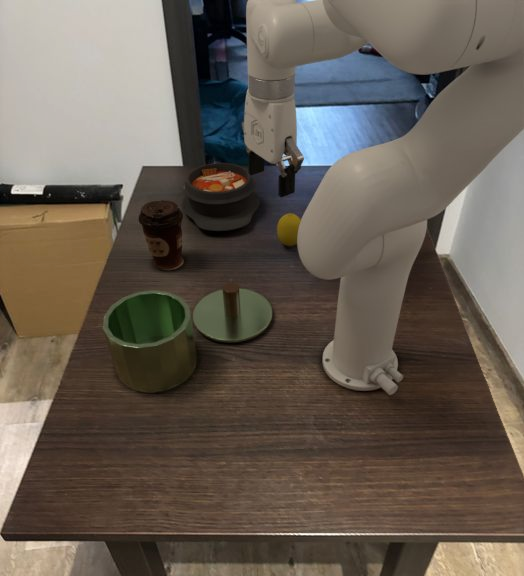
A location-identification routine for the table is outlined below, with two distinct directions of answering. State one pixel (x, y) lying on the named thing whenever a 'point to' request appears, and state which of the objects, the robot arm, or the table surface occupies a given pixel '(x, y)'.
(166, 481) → the table surface
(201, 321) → the tin lid
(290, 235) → the lemon
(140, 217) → the coffee cup
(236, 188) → the casserole
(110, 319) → the tin
